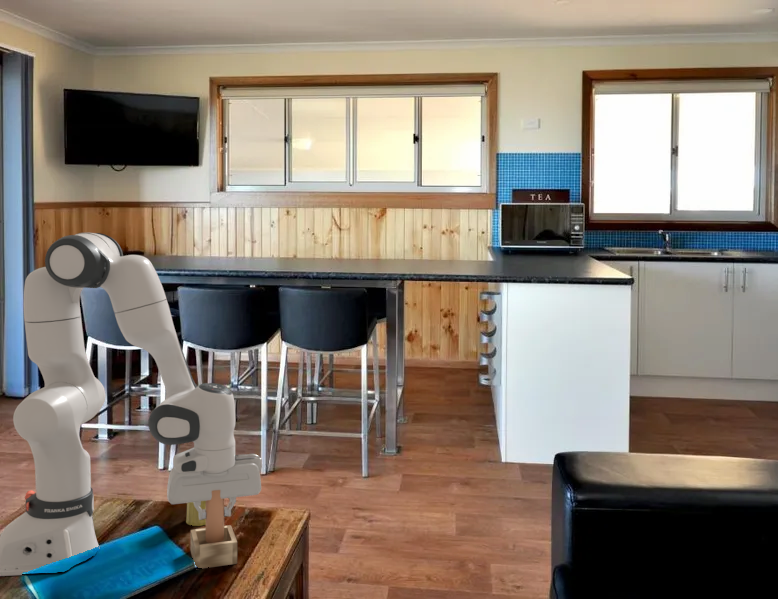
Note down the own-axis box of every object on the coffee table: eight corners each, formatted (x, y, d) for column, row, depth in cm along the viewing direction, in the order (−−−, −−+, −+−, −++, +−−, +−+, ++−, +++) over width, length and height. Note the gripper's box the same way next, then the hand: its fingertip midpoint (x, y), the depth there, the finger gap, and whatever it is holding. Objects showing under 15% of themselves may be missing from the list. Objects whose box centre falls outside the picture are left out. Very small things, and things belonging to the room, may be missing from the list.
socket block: (194, 569, 155) (195, 547, 154) (190, 550, 163) (190, 529, 162) (237, 563, 158) (237, 542, 157) (230, 545, 166) (230, 525, 166)
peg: (206, 544, 157) (206, 491, 156) (204, 536, 161) (204, 485, 160) (225, 541, 159) (225, 489, 157) (222, 534, 163) (222, 483, 161)
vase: (204, 527, 175) (205, 471, 173) (181, 524, 176) (181, 468, 175) (215, 517, 181) (215, 463, 179) (192, 514, 182) (193, 460, 181)
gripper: (259, 448, 164) (258, 506, 166) (166, 456, 157) (166, 517, 159) (264, 457, 159) (264, 517, 160) (168, 466, 151) (168, 528, 153)
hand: (214, 517), depth 159 cm, fingers closed on peg, 4 cm apart
